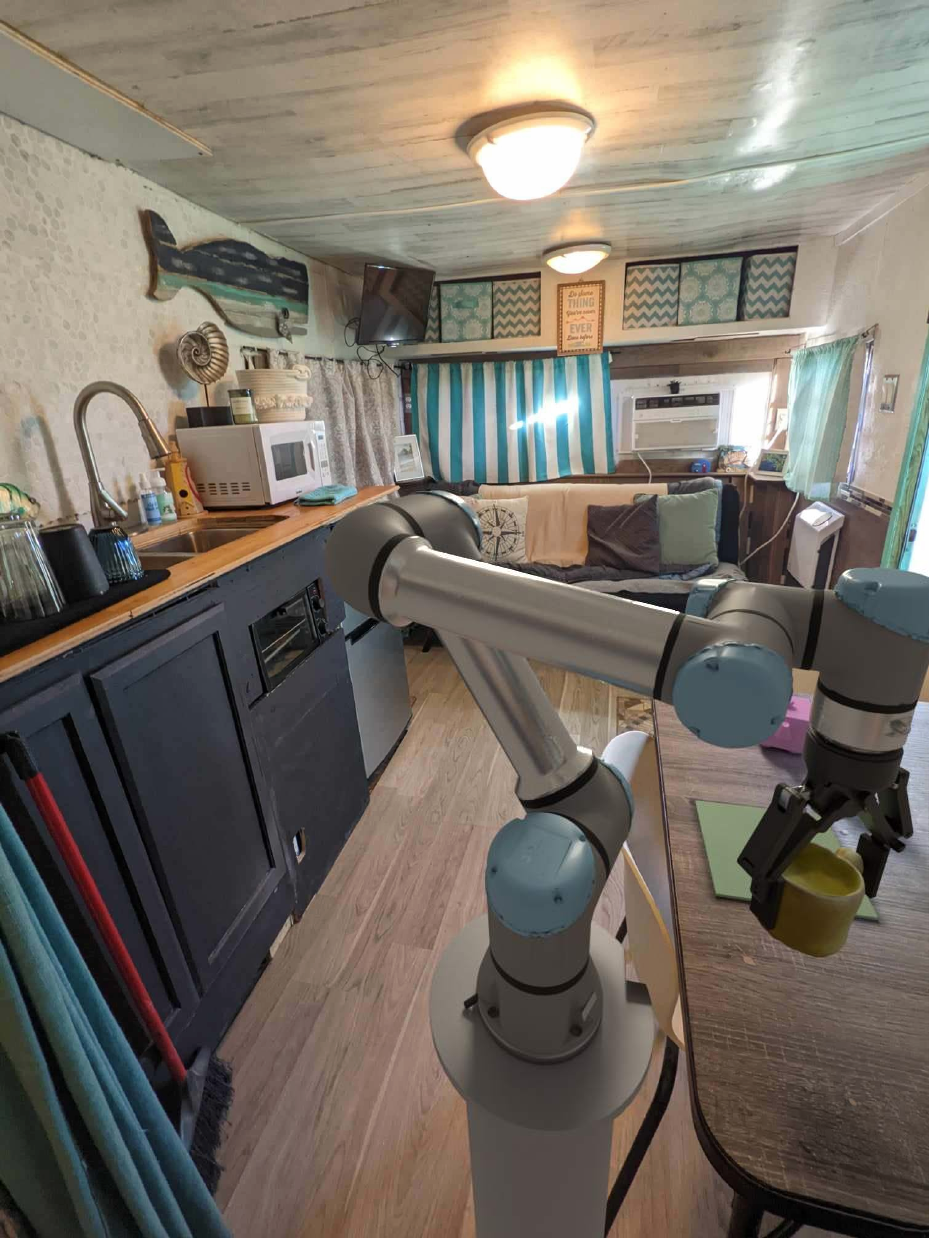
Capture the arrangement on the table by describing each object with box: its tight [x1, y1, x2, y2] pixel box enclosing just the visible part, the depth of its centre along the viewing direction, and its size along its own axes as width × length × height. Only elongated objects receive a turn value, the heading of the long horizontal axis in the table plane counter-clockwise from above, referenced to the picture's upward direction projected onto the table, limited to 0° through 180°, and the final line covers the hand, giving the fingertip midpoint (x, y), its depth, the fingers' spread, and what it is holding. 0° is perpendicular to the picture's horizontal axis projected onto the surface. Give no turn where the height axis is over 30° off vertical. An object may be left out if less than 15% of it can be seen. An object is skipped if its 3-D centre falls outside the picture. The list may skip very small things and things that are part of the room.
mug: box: [757, 841, 865, 959], centre depth 58 cm, size 12×10×10 cm
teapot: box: [760, 695, 812, 755], centre depth 108 cm, size 18×13×10 cm
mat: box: [694, 800, 879, 921], centre depth 84 cm, size 20×20×1 cm
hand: (812, 903), depth 59 cm, fingers closed on mug, 12 cm apart
